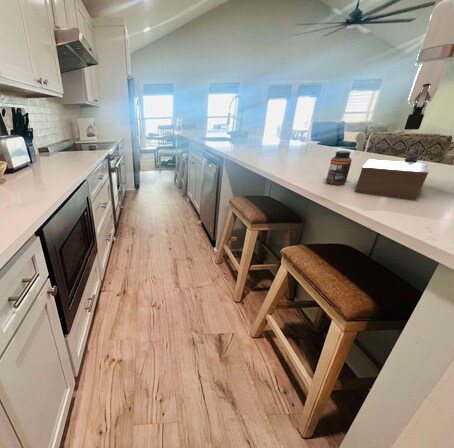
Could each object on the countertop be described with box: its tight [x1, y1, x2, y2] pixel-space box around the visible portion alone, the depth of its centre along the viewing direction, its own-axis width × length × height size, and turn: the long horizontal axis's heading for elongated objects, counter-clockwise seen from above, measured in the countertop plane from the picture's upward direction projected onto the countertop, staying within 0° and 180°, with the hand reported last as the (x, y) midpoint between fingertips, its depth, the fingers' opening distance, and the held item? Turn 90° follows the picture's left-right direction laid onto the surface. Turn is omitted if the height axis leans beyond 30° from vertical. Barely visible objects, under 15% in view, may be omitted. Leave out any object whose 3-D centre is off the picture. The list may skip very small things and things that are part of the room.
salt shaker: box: [404, 145, 421, 163], centre depth 86 cm, size 6×6×12 cm
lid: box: [361, 159, 429, 176], centre depth 75 cm, size 15×14×1 cm
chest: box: [354, 168, 428, 201], centre depth 77 cm, size 14×14×8 cm
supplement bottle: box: [325, 150, 352, 186], centre depth 86 cm, size 6×6×11 cm
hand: (411, 129), depth 72 cm, fingers closed
